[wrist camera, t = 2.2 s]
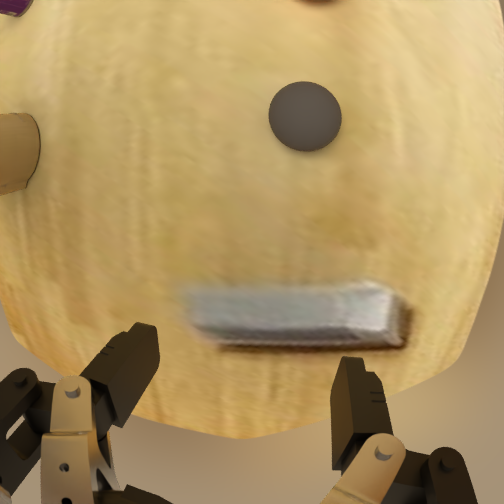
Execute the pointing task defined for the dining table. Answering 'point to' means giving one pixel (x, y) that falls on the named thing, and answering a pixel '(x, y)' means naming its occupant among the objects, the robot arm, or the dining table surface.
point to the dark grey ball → (305, 116)
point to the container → (14, 7)
